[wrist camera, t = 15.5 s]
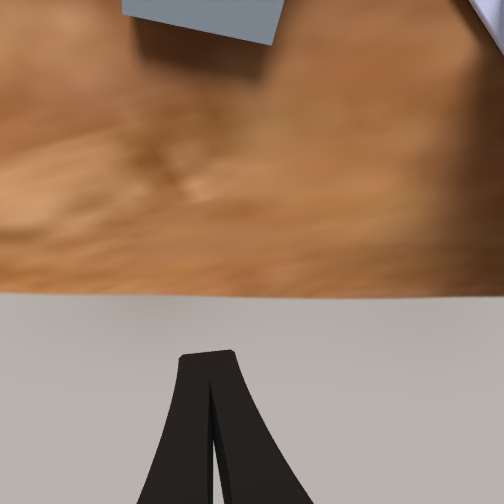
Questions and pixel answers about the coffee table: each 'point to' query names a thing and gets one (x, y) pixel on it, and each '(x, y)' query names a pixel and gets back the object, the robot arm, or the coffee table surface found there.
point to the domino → (214, 16)
